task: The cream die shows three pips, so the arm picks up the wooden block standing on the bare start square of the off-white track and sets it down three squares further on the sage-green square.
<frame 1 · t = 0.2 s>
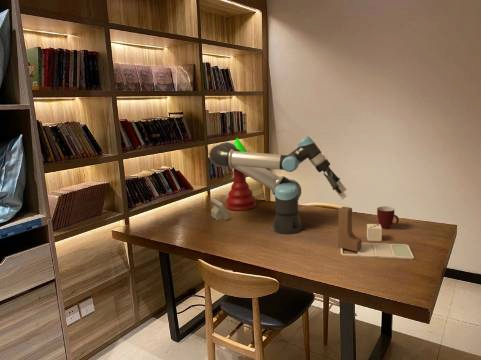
hand: (344, 194, 192), 15 cm above the table, tool tilted 35°, fingers open, 13 cm apart
track board: (374, 250, 158), on the table
die: (374, 238, 171), on the table
table lamp: (241, 206, 236), on the table
grey lumpy piece: (220, 217, 216), on the table
mug: (387, 228, 184), on the table
wooden block: (349, 248, 161), on the table, touching track board
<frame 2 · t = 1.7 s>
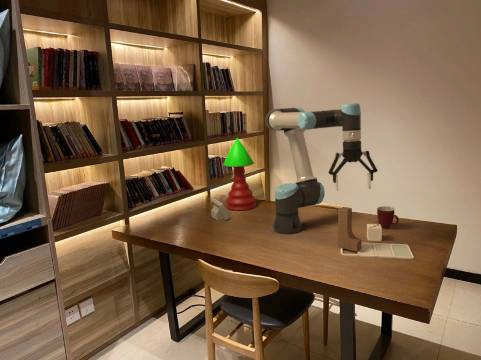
hand: (353, 189, 158), 27 cm above the table, tool pointing down, fingers open, 13 cm apart
nothing on the table moved.
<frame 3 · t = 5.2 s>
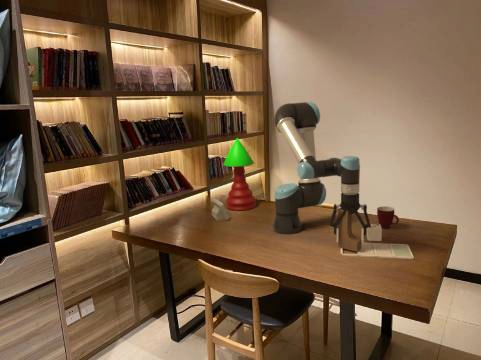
hand: (349, 241, 160), 4 cm above the table, tool pointing down, fingers closed on wooden block, 10 cm apart
wooden block: (349, 248, 161), on the table, touching gripper, track board
everything else where it was.
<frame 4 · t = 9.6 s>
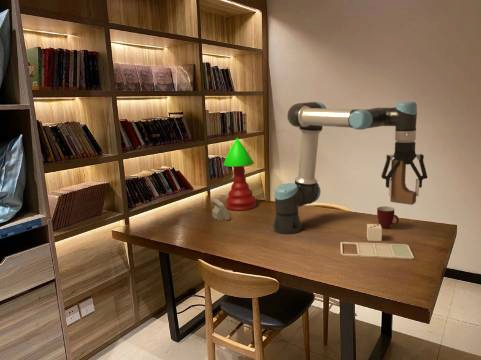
hand: (403, 195, 150), 25 cm above the table, tool pointing down, fingers closed on wooden block, 10 cm apart
wooden block: (402, 202, 151), point 22 cm above the table, touching gripper
everything else where it was.
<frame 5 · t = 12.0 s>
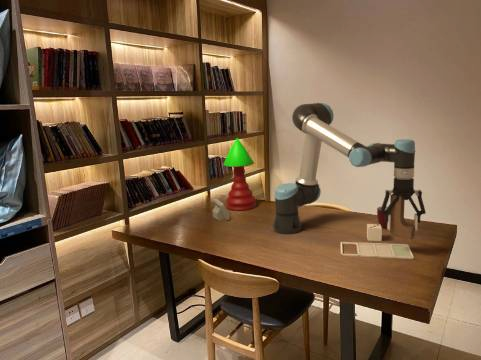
hand: (402, 229, 153), 10 cm above the table, tool pointing down, fingers closed on wooden block, 10 cm apart
wooden block: (401, 236, 154), point 7 cm above the table, touching gripper
everything else where it was.
when the fingers open (5 cm above the table, at t = 14.1 s): wooden block drops 1 cm, resting on track board.
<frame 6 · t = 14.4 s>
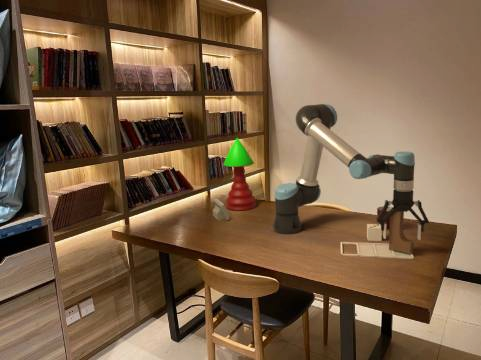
hand: (401, 238, 154), 6 cm above the table, tool pointing down, fingers open, 13 cm apart
wooden block: (401, 250, 155), resting on track board
everything else where it was.
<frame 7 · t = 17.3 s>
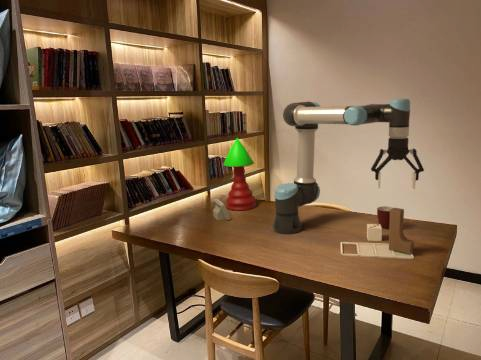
hand: (395, 187, 153), 27 cm above the table, tool pointing down, fingers open, 13 cm apart
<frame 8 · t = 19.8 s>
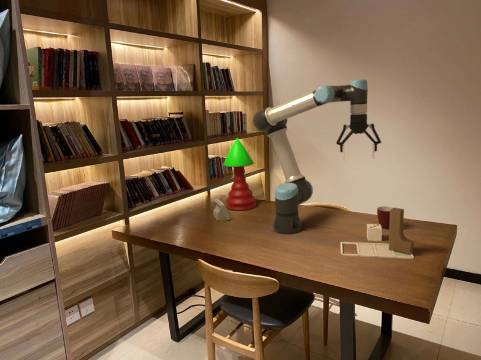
hand: (358, 158, 174), 37 cm above the table, tool pointing down, fingers open, 13 cm apart
at the end: wooden block 0.1 cm from the target spot, on the table; wooden block tilted 0°; the gripper is holding nothing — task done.
